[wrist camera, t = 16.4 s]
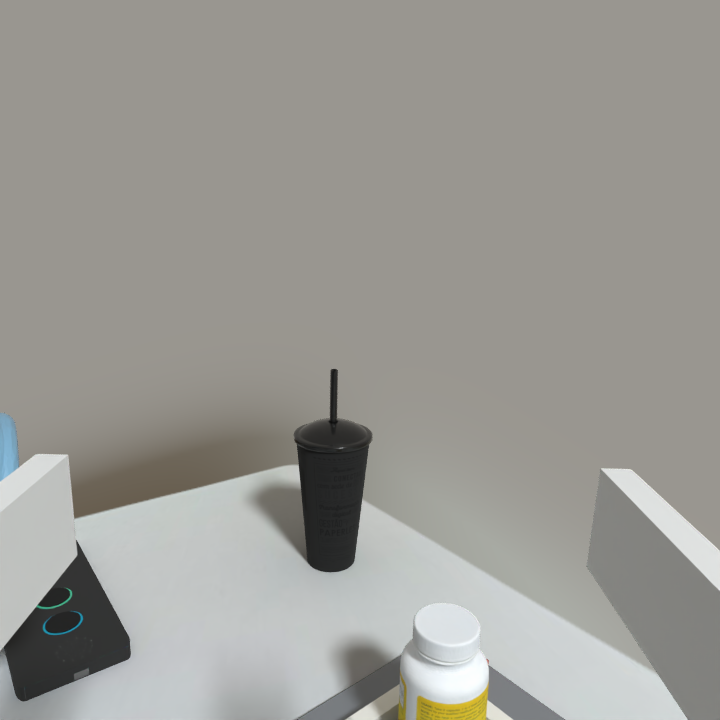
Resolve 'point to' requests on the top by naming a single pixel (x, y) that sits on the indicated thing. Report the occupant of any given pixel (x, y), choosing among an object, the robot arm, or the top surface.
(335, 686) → the top surface
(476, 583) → the top surface
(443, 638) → the supplement bottle
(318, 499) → the drinking cup
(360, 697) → the socket board
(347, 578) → the top surface
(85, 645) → the smart home device
